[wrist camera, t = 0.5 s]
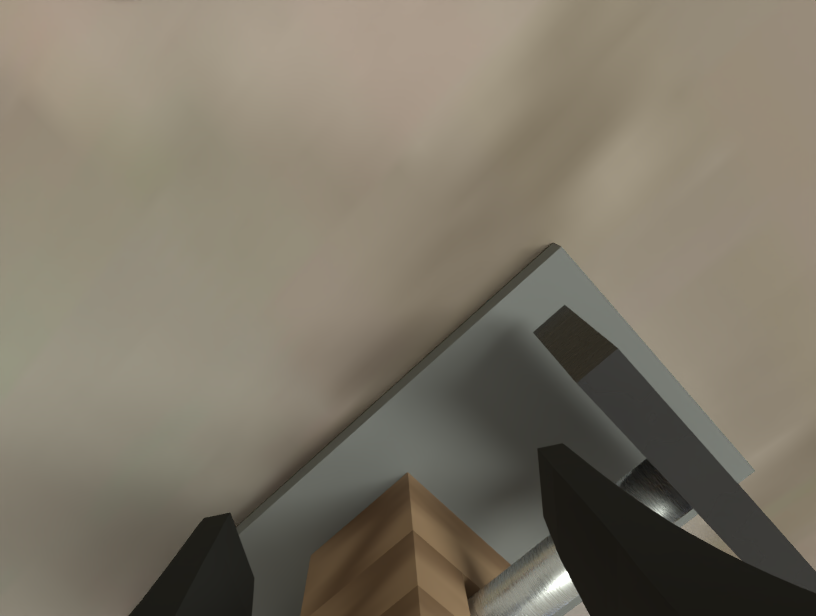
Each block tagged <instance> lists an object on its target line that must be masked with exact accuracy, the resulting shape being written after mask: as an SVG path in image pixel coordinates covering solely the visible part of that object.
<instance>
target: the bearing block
mask: <svg viewBox="0 0 816 616" xmlns="http://www.w3.org/2000/svg"><path fill="white" fill-rule="evenodd" d="M510 566H511V564H509V563H508V562H507V561H506V560H505V559H504V558H503V557H502V556H501V555H499V554H498V553H497V552H496V551H495V550H494V549H493V548H492V547H491V546H489V545H488V544H487V543H486V542H485V541H484V540H483V539H482V538H481V537H479V536H478V535H477V534H476V533H475V532H474V531H473V530H472V529H471V528H469V527H468V526H467V525H466V524H465V523H464V522H463V521H462V520H461V519H459V518H458V517H457V516H456V515H455V514H454V513H453V512H452V511H451V510H449V509H448V508H447V507H446V506H445V505H444V504H443V503H442V502H441V501H439V500H438V499H437V498H436V497H435V496H434V495H433V494H432V493H431V492H429V491H428V490H427V489H426V488H425V487H424V486H423V485H422V484H421V483H419V482H418V481H417V480H416V479H415V478H414V477H413V476H412V475H411V474H409V473H408V472H407V473H406V474H405V475H404V476H403V477H402V478H400V479H399V480H398V481H397V482H396V483H395V484H393V485H392V486H391V487H390V488H389V489H388V490H386V491H385V492H384V493H383V494H382V495H381V496H379V497H378V498H377V499H376V500H375V501H374V502H372V503H371V504H370V505H369V506H368V507H367V508H365V509H364V510H363V511H362V512H361V513H360V514H358V515H357V516H356V517H355V518H354V519H353V520H351V521H350V522H349V523H348V524H347V525H346V526H344V527H343V528H342V529H341V530H340V531H339V532H337V533H336V534H335V535H334V536H333V537H332V538H330V539H329V540H328V541H327V542H326V543H325V544H323V545H322V546H321V547H320V548H319V549H318V550H317V551H315V552H314V553H313V554H312V555H311V557H310V562H309V568H308V574H307V580H306V586H305V591H304V597H303V603H302V609H301V614H300V616H470V611H469V606H468V601H467V600H468V599H469V598H470V597H471V596H473V595H474V594H475V593H477V592H478V591H479V590H480V589H482V588H483V587H484V586H485V585H487V584H488V583H489V582H490V581H492V580H493V579H494V578H496V577H497V576H498V575H499V574H501V573H502V572H503V571H504V570H506V569H507V568H508V567H510Z"/></svg>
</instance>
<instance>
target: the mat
mask: <svg viewBox="0 0 816 616" xmlns="http://www.w3.org/2000/svg"><path fill="white" fill-rule="evenodd" d="M564 305H566V306H567V307H568V308H569V309H571V310H572V311H573V312H574V313H575V314H577V315H578V316H579V317H580V318H582V319H583V320H584V321H585V322H587V323H588V324H589V325H590V326H591V327H593V328H594V329H595V330H596V331H598V332H599V333H600V334H601V335H602V336H604V337H605V338H606V339H607V340H609V341H610V342H611V343H612V344H614V345H615V346H616V347H617V348H618V349H619V350H620V351H621V352H622V353H623V354H624V355H625V357H626V358H627V359H628V360H629V361H630V362H631V363H632V365H633V366H634V367H635V368H636V369H637V370H638V371H639V372H640V374H641V375H642V376H643V377H644V378H645V379H646V380H647V381H648V383H649V384H650V385H651V386H652V387H653V388H654V389H655V391H656V392H657V393H658V394H659V395H660V396H661V397H662V398H663V400H664V401H665V402H666V403H667V404H668V405H669V406H670V407H671V409H672V410H673V411H674V412H675V413H676V414H677V415H678V416H679V418H680V419H681V420H682V421H683V422H684V423H685V424H686V426H687V427H688V428H689V429H690V430H691V431H692V432H693V433H694V435H695V436H696V437H697V438H698V439H699V440H700V441H701V442H702V444H703V445H704V446H705V447H706V448H707V449H708V450H709V452H710V453H711V454H712V455H713V456H714V457H715V458H716V459H717V461H718V462H719V463H720V464H721V465H722V466H723V467H724V468H725V470H726V471H727V472H728V473H729V474H730V475H731V476H732V478H733V479H734V480H735V481H736V482H737V483H740V482H741V481H742V480H744V479H745V478H746V477H748V476H749V475H750V474H752V473H753V472H754V471H755V470H754V469H753V468H752V467H751V465H750V464H749V463H748V462H747V461H746V460H745V458H744V457H743V456H742V455H741V454H740V453H739V451H738V450H737V449H736V448H735V447H734V446H733V445H732V443H731V442H730V441H729V440H728V439H727V438H726V436H725V435H724V434H723V433H722V432H721V431H720V430H719V428H718V427H717V426H716V425H715V424H714V423H713V421H712V420H711V419H710V418H709V417H708V416H707V414H706V413H705V412H704V411H703V410H702V409H701V408H700V406H699V405H698V404H697V403H696V402H695V401H694V399H693V398H692V397H691V396H690V395H689V394H688V392H687V391H686V390H685V389H684V388H683V387H682V386H681V384H680V383H679V382H678V381H677V380H676V379H675V377H674V376H673V375H672V374H671V373H670V372H669V371H668V369H667V368H666V367H665V366H664V365H663V364H662V362H661V361H660V360H659V359H658V358H657V357H656V355H655V354H654V353H653V352H652V351H651V350H650V349H649V347H648V346H647V345H646V344H645V343H644V342H643V340H642V339H641V338H640V337H639V336H638V335H637V334H636V332H635V331H634V330H633V329H632V328H631V327H630V325H629V324H628V323H627V322H626V321H625V320H624V318H623V317H622V316H621V315H620V314H619V313H618V312H617V310H616V309H615V308H614V307H613V306H612V305H611V303H610V302H609V301H608V300H607V299H606V298H605V296H604V295H603V294H602V293H601V292H600V291H599V290H598V288H597V287H596V286H595V285H594V284H593V283H592V281H591V280H590V279H589V278H588V277H587V276H586V275H585V273H584V272H583V271H582V270H581V269H580V268H579V266H578V265H577V264H576V263H575V262H574V261H573V259H572V258H571V257H570V256H569V255H568V254H567V253H566V251H565V250H564V249H563V248H562V247H561V246H559V245H557V244H555V243H552V244H551V245H550V246H549V247H548V248H547V249H546V250H545V251H543V252H542V253H541V254H540V255H539V256H538V257H537V258H536V259H535V260H533V261H532V262H531V263H530V264H529V265H528V266H527V267H526V268H524V269H523V270H522V271H521V272H520V273H519V274H518V275H517V276H516V277H514V278H513V279H512V280H511V281H510V282H509V283H508V284H507V285H506V286H504V287H503V288H502V289H501V290H500V291H499V292H498V293H497V294H496V295H494V296H493V297H492V298H491V299H490V300H489V301H488V302H487V303H485V304H484V305H483V306H482V307H481V308H480V309H479V310H478V311H477V312H475V313H474V314H473V315H472V316H471V317H470V318H469V319H468V320H467V321H465V322H464V323H463V324H462V325H461V326H460V327H459V328H458V329H456V330H455V331H454V332H453V333H452V334H451V335H450V336H449V337H448V338H446V339H445V340H444V341H443V342H442V343H441V344H440V345H439V346H438V347H436V348H435V349H434V350H433V351H432V352H431V353H430V354H429V355H428V356H426V357H425V358H424V359H423V360H422V361H421V362H420V363H419V364H417V365H416V366H415V367H414V368H413V369H412V370H411V371H410V372H409V373H407V374H406V375H405V376H404V377H403V378H402V379H401V380H400V381H399V382H397V383H396V384H395V385H394V386H393V387H392V388H391V389H390V390H389V391H387V392H386V393H385V394H384V395H383V396H382V397H381V398H380V399H378V400H377V401H376V402H375V403H374V404H373V405H372V406H371V407H370V408H368V409H367V410H366V411H365V412H364V413H363V414H362V415H361V416H360V417H358V418H357V419H356V420H355V421H354V422H353V423H352V424H351V425H349V426H348V427H347V428H346V429H345V430H344V431H343V432H342V433H341V434H339V435H338V436H337V437H336V438H335V439H334V440H333V441H332V442H331V443H329V444H328V445H327V446H326V447H325V448H324V449H323V450H322V451H321V452H319V453H318V454H317V455H316V456H315V457H314V458H313V459H312V460H310V461H309V462H308V463H307V464H306V465H305V466H304V467H303V468H302V469H300V470H299V471H298V472H297V473H296V474H295V475H294V476H293V477H292V478H290V479H289V480H288V481H287V482H286V483H285V484H284V485H283V486H282V487H280V488H279V489H278V490H277V491H276V492H275V493H274V494H273V495H271V496H270V497H269V498H268V499H267V500H266V501H265V502H264V503H263V504H261V505H260V506H259V507H258V508H257V509H256V510H255V511H254V512H253V513H251V514H250V515H249V516H248V517H247V518H246V519H245V520H244V521H242V522H241V523H240V524H239V525H238V526H237V527H236V529H237V532H238V535H239V537H240V540H241V543H242V546H243V548H244V551H245V554H246V556H247V559H248V562H249V565H250V567H251V570H252V573H253V575H254V578H255V579H254V594H253V607H252V616H300V614H301V609H302V603H303V597H304V591H305V586H306V580H307V574H308V568H309V562H310V557H311V555H312V554H313V553H314V552H315V551H317V550H318V549H319V548H320V547H321V546H322V545H323V544H325V543H326V542H327V541H328V540H329V539H330V538H332V537H333V536H334V535H335V534H336V533H337V532H339V531H340V530H341V529H342V528H343V527H344V526H346V525H347V524H348V523H349V522H350V521H351V520H353V519H354V518H355V517H356V516H357V515H358V514H360V513H361V512H362V511H363V510H364V509H365V508H367V507H368V506H369V505H370V504H371V503H372V502H374V501H375V500H376V499H377V498H378V497H379V496H381V495H382V494H383V493H384V492H385V491H386V490H388V489H389V488H390V487H391V486H392V485H393V484H395V483H396V482H397V481H398V480H399V479H400V478H402V477H403V476H404V475H405V474H406V473H407V472H408V473H409V474H411V475H412V476H413V477H414V478H415V479H416V480H417V481H418V482H419V483H421V484H422V485H423V486H424V487H425V488H426V489H427V490H428V491H429V492H431V493H432V494H433V495H434V496H435V497H436V498H437V499H438V500H439V501H441V502H442V503H443V504H444V505H445V506H446V507H447V508H448V509H449V510H451V511H452V512H453V513H454V514H455V515H456V516H457V517H458V518H459V519H461V520H462V521H463V522H464V523H465V524H466V525H467V526H468V527H469V528H471V529H472V530H473V531H474V532H475V533H476V534H477V535H478V536H479V537H481V538H482V539H483V540H484V541H485V542H486V543H487V544H488V545H489V546H491V547H492V548H493V549H494V550H495V551H496V552H497V553H498V554H499V555H501V556H502V557H503V558H504V559H505V560H506V561H507V562H508V563H509V564H511V565H512V564H513V563H515V562H516V561H517V560H518V559H520V558H521V557H522V556H523V555H525V554H526V553H527V552H529V551H530V550H531V549H532V548H534V547H535V546H536V545H537V544H539V543H540V542H541V541H542V540H544V539H545V538H546V537H548V536H549V535H550V533H549V530H548V527H547V525H546V522H545V520H544V517H543V508H542V497H541V486H540V474H539V463H538V451H537V448H542V447H546V446H551V445H556V444H561V443H563V444H565V445H566V446H567V447H569V448H570V449H571V450H572V451H574V452H575V453H576V454H577V455H579V456H580V457H581V458H582V459H584V460H585V461H586V462H587V463H589V464H590V465H591V466H593V467H594V468H595V469H596V470H598V471H599V472H600V473H602V474H603V475H604V476H605V477H607V478H608V479H609V480H611V481H612V482H613V483H616V482H617V481H619V480H620V479H621V478H622V477H624V476H625V475H626V474H627V473H629V472H630V471H631V470H633V469H634V468H635V467H636V466H638V465H639V464H640V463H641V462H643V461H644V460H645V459H647V458H646V457H645V456H644V455H643V454H642V453H641V452H640V451H639V450H638V449H637V448H636V447H635V446H634V444H633V443H632V442H631V441H630V440H629V439H628V438H627V437H626V436H625V435H624V434H623V433H622V432H621V431H620V429H619V428H618V427H617V426H616V425H615V424H614V423H613V422H612V421H611V420H610V419H609V418H608V417H607V416H606V414H605V413H604V412H603V411H602V410H601V409H600V408H599V407H598V406H597V405H596V404H595V403H594V402H593V401H592V399H591V398H590V397H589V396H588V395H587V394H586V393H585V392H584V391H583V390H582V389H581V388H580V387H579V386H578V384H577V383H576V382H575V381H574V380H573V379H572V378H571V376H570V375H569V374H568V373H567V372H566V371H565V369H564V368H563V367H562V366H561V365H560V364H559V362H558V361H557V360H556V359H555V358H554V357H553V355H552V354H551V353H550V352H549V351H548V350H547V348H546V347H545V346H544V345H543V344H542V343H541V341H540V340H539V339H538V338H537V337H536V336H535V334H534V333H533V332H534V331H535V330H536V329H537V328H538V327H539V326H541V325H542V324H543V323H544V322H545V321H546V320H547V319H549V318H550V317H551V316H552V315H553V314H554V313H556V312H557V311H558V310H559V309H560V308H561V307H562V306H564ZM697 514H698V513H697V512H696V511H695V510H694V509H692V510H691V511H689V512H688V513H687V514H686V515H684V516H683V517H682V518H680V519H679V520H678V521H676V522H675V523H674V524H675V525H676V526H678V527H681V526H683V525H684V524H685V523H687V522H688V521H689V520H691V519H692V518H693V517H695V516H696V515H697ZM581 602H582V599H581V598H580V596H577V597H576V598H575V599H573V600H572V601H571V602H569V603H568V604H567V605H565V606H564V607H563V608H561V609H560V610H559V611H557V612H556V613H555V614H553V615H552V616H563V615H565V614H566V613H567V612H569V611H570V610H571V609H573V608H574V607H575V606H577V605H578V604H579V603H581Z"/></svg>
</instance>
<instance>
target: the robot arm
mask: <svg viewBox="0 0 816 616" xmlns="http://www.w3.org/2000/svg"><path fill="white" fill-rule="evenodd" d="M537 451H538V463H539V474H540V486H541V497H542V508H543V517H544V520H545V522H546V525H547V527H548V530H549V533H550V535H551V538H552V540H553V543H554V545H555V548H556V550H557V553H558V555H559V558H560V560H561V561H562V563H563V565H564V567H565V569H566V571H567V573H568V575H569V577H570V579H571V581H572V582H573V584H574V586H575V588H576V590H577V592H578V594H579V596H580V598H581V599H582V601H583V603H584V605H585V607H586V609H587V611H588V613H589V614H590V616H816V593H814V592H812V591H809V590H807V589H804V588H801V587H799V586H797V585H794V584H792V583H790V582H787V581H785V580H783V579H780V578H778V577H776V576H773V575H771V574H769V573H767V572H765V571H763V570H760V569H758V568H756V567H754V566H752V565H750V564H748V563H745V562H743V561H741V560H739V559H737V558H735V557H733V556H731V555H729V554H727V553H725V552H723V551H721V550H719V549H717V548H716V547H714V546H712V545H710V544H708V543H706V542H705V541H703V540H701V539H699V538H697V537H696V536H694V535H692V534H690V533H688V532H687V531H685V530H683V529H682V528H680V527H678V526H676V525H675V524H673V523H672V522H670V521H669V520H667V519H665V518H664V517H662V516H661V515H659V514H658V513H656V512H655V511H653V510H652V509H650V508H649V507H647V506H646V505H644V504H643V503H641V502H640V501H638V500H637V499H636V498H634V497H633V496H631V495H630V494H629V493H627V492H626V491H624V490H623V489H622V488H620V487H619V486H617V485H616V484H615V483H613V482H612V481H611V480H609V479H608V478H607V477H605V476H604V475H603V474H602V473H600V472H599V471H598V470H596V469H595V468H594V467H593V466H591V465H590V464H589V463H587V462H586V461H585V460H584V459H582V458H581V457H580V456H579V455H577V454H576V453H575V452H574V451H572V450H571V449H570V448H569V447H567V446H566V445H565V444H563V443H561V444H556V445H551V446H546V447H542V448H537ZM254 579H255V578H254V575H253V573H252V570H251V567H250V565H249V562H248V559H247V556H246V554H245V551H244V548H243V546H242V543H241V540H240V537H239V535H238V532H237V529H236V527H235V524H234V521H233V519H232V516H231V513H226V514H222V515H217V516H212V517H207V518H204V519H203V520H202V521H201V522H200V524H199V525H198V526H197V528H196V529H195V530H194V532H193V533H192V534H191V536H190V537H189V538H188V540H187V541H186V542H185V544H184V545H183V546H182V548H181V549H180V550H179V552H178V553H177V555H176V556H175V557H174V559H173V560H172V561H171V563H170V564H169V565H168V567H167V568H166V569H165V571H164V572H163V573H162V575H161V576H160V577H159V578H158V580H157V581H156V582H155V584H154V585H153V586H152V588H151V589H150V590H149V592H148V593H147V594H146V595H145V597H144V598H143V599H142V600H141V602H140V603H139V604H138V605H137V606H136V608H135V609H134V610H133V611H132V613H131V614H130V615H129V616H252V607H253V594H254Z"/></svg>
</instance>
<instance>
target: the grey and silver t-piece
mask: <svg viewBox="0 0 816 616" xmlns="http://www.w3.org/2000/svg"><path fill="white" fill-rule="evenodd" d="M533 333H534V334H535V336H536V337H537V338H538V339H539V340H540V341H541V343H542V344H543V345H544V346H545V347H546V348H547V350H548V351H549V352H550V353H551V354H552V355H553V357H554V358H555V359H556V360H557V361H558V362H559V364H560V365H561V366H562V367H563V368H564V369H565V371H566V372H567V373H568V374H569V375H570V376H571V378H572V379H573V380H574V381H575V382H576V383H577V384H578V386H579V387H580V388H581V389H582V390H583V391H584V392H585V393H586V394H587V395H588V396H589V397H590V398H591V399H592V401H593V402H594V403H595V404H596V405H597V406H598V407H599V408H600V409H601V410H602V411H603V412H604V413H605V414H606V416H607V417H608V418H609V419H610V420H611V421H612V422H613V423H614V424H615V425H616V426H617V427H618V428H619V429H620V431H621V432H622V433H623V434H624V435H625V436H626V437H627V438H628V439H629V440H630V441H631V442H632V443H633V444H634V446H635V447H636V448H637V449H638V450H639V451H640V452H641V453H642V454H643V455H644V456H645V457H646V458H647V459H645V460H644V461H643V462H641V463H640V464H639V465H638V466H636V467H635V468H634V469H633V470H631V471H630V472H629V473H627V474H626V475H625V476H624V477H622V478H621V479H620V480H619V481H617V482H616V483H615V484H616V485H617V486H619V487H620V488H622V489H623V490H624V491H626V492H627V493H629V494H630V495H631V496H633V497H634V498H636V499H637V500H638V501H640V502H641V503H643V504H644V505H646V506H647V507H649V508H650V509H652V510H653V511H655V512H656V513H658V514H659V515H661V516H662V517H664V518H665V519H667V520H669V521H670V522H672V523H673V524H674V523H675V522H676V521H678V520H679V519H680V518H682V517H683V516H684V515H686V514H687V513H688V512H689V511H691V510H692V509H694V510H695V511H696V512H697V513H698V514H699V515H700V516H701V517H702V518H703V519H704V521H705V522H706V523H707V524H708V525H709V526H710V527H711V528H712V529H713V530H714V531H715V532H716V533H717V534H718V536H719V537H720V538H721V539H722V540H723V541H724V542H725V543H726V544H727V545H728V546H729V547H730V548H731V549H732V551H733V552H734V553H735V554H736V555H737V556H738V557H739V558H740V559H741V560H742V561H743V562H745V563H748V564H750V565H752V566H754V567H756V568H758V569H760V570H763V571H765V572H767V573H769V574H771V575H773V576H776V577H778V578H780V579H783V580H785V581H787V582H790V583H792V584H794V585H797V586H799V587H801V588H804V589H807V590H809V591H812V592H814V593H816V571H815V570H814V569H813V568H812V567H811V566H810V565H809V563H808V562H807V561H806V560H805V559H804V558H803V557H802V556H801V554H800V553H799V552H798V551H797V550H796V549H795V548H794V546H793V545H792V544H791V543H790V542H789V541H788V540H787V539H786V537H785V536H784V535H783V534H782V533H781V532H780V531H779V530H778V528H777V527H776V526H775V525H774V524H773V523H772V522H771V520H770V519H769V518H768V517H767V516H766V515H765V514H764V513H763V511H762V510H761V509H760V508H759V507H758V506H757V505H756V504H755V502H754V501H753V500H752V499H751V498H750V497H749V496H748V494H747V493H746V492H745V491H744V490H743V489H742V488H741V487H740V485H739V484H738V483H737V482H736V481H735V480H734V479H733V478H732V476H731V475H730V474H729V473H728V472H727V471H726V470H725V468H724V467H723V466H722V465H721V464H720V463H719V462H718V461H717V459H716V458H715V457H714V456H713V455H712V454H711V453H710V452H709V450H708V449H707V448H706V447H705V446H704V445H703V444H702V442H701V441H700V440H699V439H698V438H697V437H696V436H695V435H694V433H693V432H692V431H691V430H690V429H689V428H688V427H687V426H686V424H685V423H684V422H683V421H682V420H681V419H680V418H679V416H678V415H677V414H676V413H675V412H674V411H673V410H672V409H671V407H670V406H669V405H668V404H667V403H666V402H665V401H664V400H663V398H662V397H661V396H660V395H659V394H658V393H657V392H656V391H655V389H654V388H653V387H652V386H651V385H650V384H649V383H648V381H647V380H646V379H645V378H644V377H643V376H642V375H641V374H640V372H639V371H638V370H637V369H636V368H635V367H634V366H633V365H632V363H631V362H630V361H629V360H628V359H627V358H626V357H625V355H624V354H623V353H622V352H621V351H620V350H619V349H618V348H617V347H616V346H615V345H614V344H612V343H611V342H610V341H609V340H607V339H606V338H605V337H604V336H602V335H601V334H600V333H599V332H598V331H596V330H595V329H594V328H593V327H591V326H590V325H589V324H588V323H587V322H585V321H584V320H583V319H582V318H580V317H579V316H578V315H577V314H575V313H574V312H573V311H572V310H571V309H569V308H568V307H567V306H566V305H564V306H562V307H561V308H560V309H559V310H558V311H557V312H556V313H554V314H553V315H552V316H551V317H550V318H549V319H547V320H546V321H545V322H544V323H543V324H542V325H541V326H539V327H538V328H537V329H536V330H535V331H534V332H533ZM577 596H579V594H578V592H577V590H576V588H575V586H574V584H573V582H572V581H571V579H570V577H569V575H568V573H567V571H566V569H565V567H564V565H563V563H562V561H561V560H560V558H559V555H558V553H557V550H556V548H555V545H554V543H553V540H552V538H551V535H549V536H548V537H546V538H545V539H544V540H542V541H541V542H540V543H539V544H537V545H536V546H535V547H534V548H532V549H531V550H530V551H529V552H527V553H526V554H525V555H523V556H522V557H521V558H520V559H518V560H517V561H516V562H515V563H513V564H512V565H511V566H510V567H508V568H507V569H506V570H504V571H503V572H502V573H501V574H499V575H498V576H497V577H496V578H494V579H493V580H492V581H490V582H489V583H488V584H487V585H485V586H484V587H483V588H482V589H480V590H479V591H478V592H477V593H475V594H474V595H473V596H471V597H470V598H469V599H468V600H467V601H468V606H469V611H470V616H552V615H553V614H555V613H556V612H557V611H559V610H560V609H561V608H563V607H564V606H565V605H567V604H568V603H569V602H571V601H572V600H573V599H575V598H576V597H577Z"/></svg>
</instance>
